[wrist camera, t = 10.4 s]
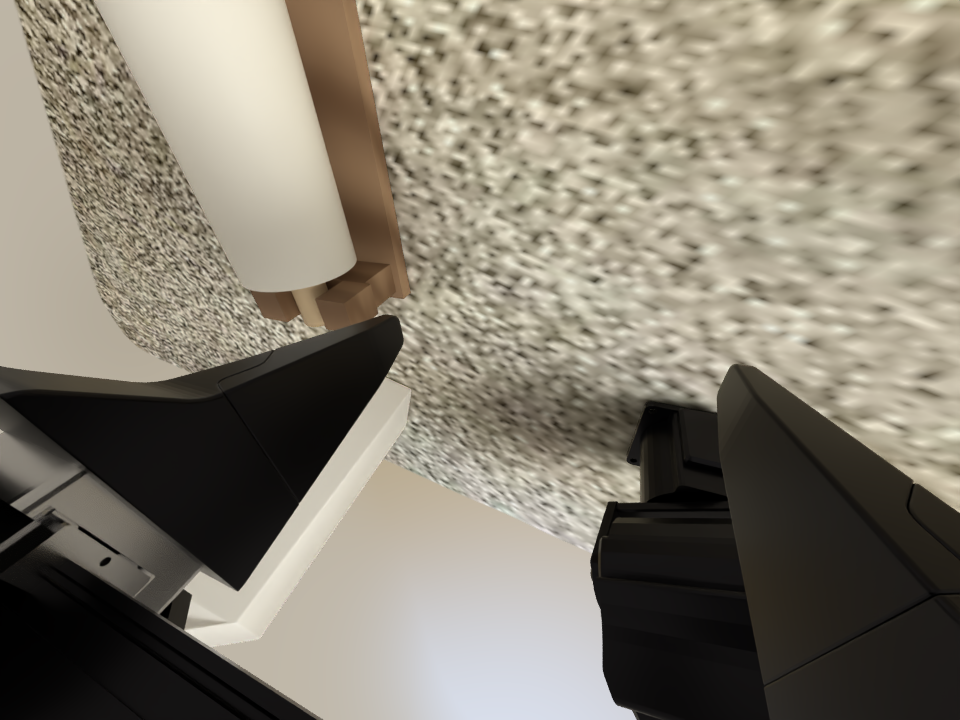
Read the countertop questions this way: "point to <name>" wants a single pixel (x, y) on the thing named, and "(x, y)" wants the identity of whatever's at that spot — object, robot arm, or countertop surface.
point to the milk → (300, 529)
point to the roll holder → (347, 166)
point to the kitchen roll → (242, 135)
